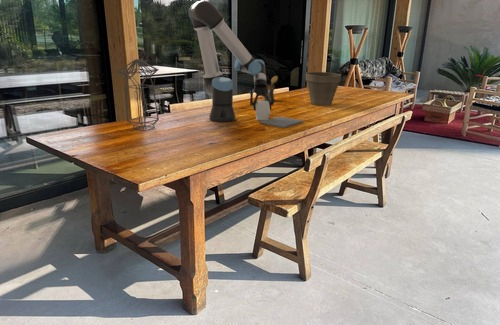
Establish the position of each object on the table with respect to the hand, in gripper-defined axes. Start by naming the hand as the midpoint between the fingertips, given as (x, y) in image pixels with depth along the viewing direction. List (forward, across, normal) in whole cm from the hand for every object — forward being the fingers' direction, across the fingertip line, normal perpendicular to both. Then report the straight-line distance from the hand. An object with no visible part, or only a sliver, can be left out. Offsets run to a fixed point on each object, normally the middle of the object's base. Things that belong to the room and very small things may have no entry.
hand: (263, 114), depth 226 cm
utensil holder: (-47, -16, -52) cm, 72 cm away
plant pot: (-35, -50, -41) cm, 74 cm away
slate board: (+7, -10, +2) cm, 12 cm away
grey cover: (0, 0, -5) cm, 5 cm away
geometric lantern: (+16, +66, +10) cm, 68 cm away
